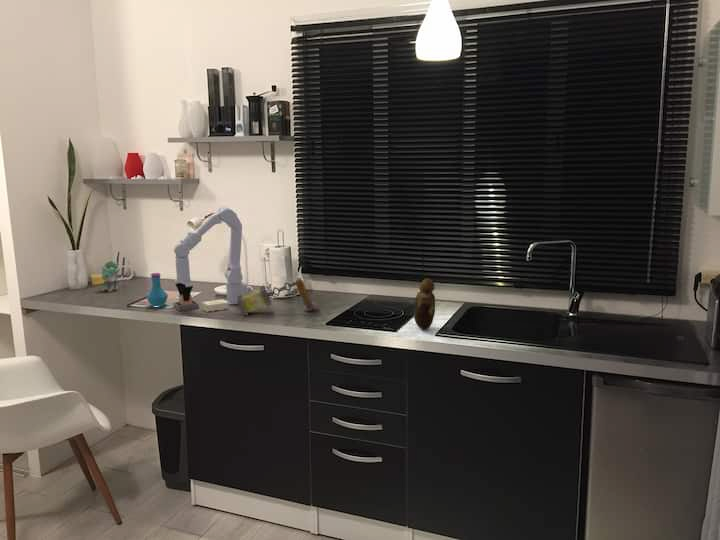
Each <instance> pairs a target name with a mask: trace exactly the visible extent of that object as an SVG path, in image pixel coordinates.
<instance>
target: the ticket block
mask: <svg viewBox="0 0 720 540" xmlns="http://www.w3.org/2000/svg"><path fill="white" fill-rule="evenodd" d="M225 300H226V299H224V298H223V299H216V300H208V301H202V302H200V308H201V310H202V311H204V312H205V311H206V312H205V313H209V311H211V312H216V311H215V310H218V311H224V309H225V310H229V304H228V302H226V301H225Z"/></svg>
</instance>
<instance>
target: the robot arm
mask: <svg viewBox="0 0 720 540" xmlns="http://www.w3.org/2000/svg"><path fill="white" fill-rule="evenodd" d="M223 222H224V223H225V225H227V226H228V227H229V228H230V239H229V240H230V241H229V254H228V255H229V257H228V259H229V260H228V264H227V269H226V271H225V274H224V276H225V279H226V282H225V285H226V299H224V300H225V301H226V302H228V305H237V304H238V302H237V296H239V295H242V297H243V296H245V295H247V294H249V287H248V284H247V283H246V282H242V280H243V279H244V278H243V273H242V267H241V254H242V253H241V251H242V237H243V236H242V235H243V224H242V222H241V220H240V218H239V217H238V215H237V213H236V212H235V211H234V210H232V209H230V208H228V207H225V206H223V207H220V208H218V210H217V211H215V212H213V214H212V215H210V216H209V218H208V219H206V221H205V222H204V223H203V224H202V225H201V226H200V227H199V228H198V229H197V230H191V232H190V231H188V233H187V235H186V236H185V237H184V238H183V239H181V240H180V241H179V243H177V244H176V245H175V246H174V249H173V252H174V254H175V269H176V270H175V273H176V279H175V280H174V283H175V284H174V285H175V287H176V288H177V291H178V296H179V295H182V294H183V299H184V301H189V299H190V295H191V294H192V290H193V286H194V285H192V284H191V273H190V259H189V254H190V251H192V250H193V249H194V248H195V247H196V246H197V245H198V244H199V243H200V242H201V241H202V240H203V239H202V236H204V235H205V234H206V233H207V232H208V231H209V230H211V229H212V228H213V227H214V226H215V225H219V224H223ZM238 305H239V304H238Z"/></svg>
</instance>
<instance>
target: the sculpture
mask: <svg viewBox="0 0 720 540" xmlns="http://www.w3.org/2000/svg"><path fill="white" fill-rule="evenodd" d="M434 290H435V283H434V282H433V280H432V279H431V278H424V279H423V280H422V281H421V282H420V285H419V291H418V292H417V294H416V296H415V299H414V300H415V301H414V307H413V318H414V321H415V324H416V325H417V327H418V328H420V329H422V330H427V329H429V328H430V327H431V326H432V324H433V322H434V317H435V314H436V313H435V312H436V296H435V293H433V292H434Z"/></svg>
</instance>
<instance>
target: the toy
mask: <svg viewBox="0 0 720 540" xmlns="http://www.w3.org/2000/svg"><path fill="white" fill-rule="evenodd" d="M101 269H102V271H101V277H102V280H103V284H102V285H101V290H102V292H105V291H104V290H105V287H107V291H108V293H111V292H112V291H114V290H115V289H116V290H118V288H119V285H118V281H117V280H118V275H117V273H118V272H120V268H119V267H118V264H117V263H115V262H114V261H112V260H111V261H110V260H109V261H108V262H105V264H104V266H102V267H101Z"/></svg>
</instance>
